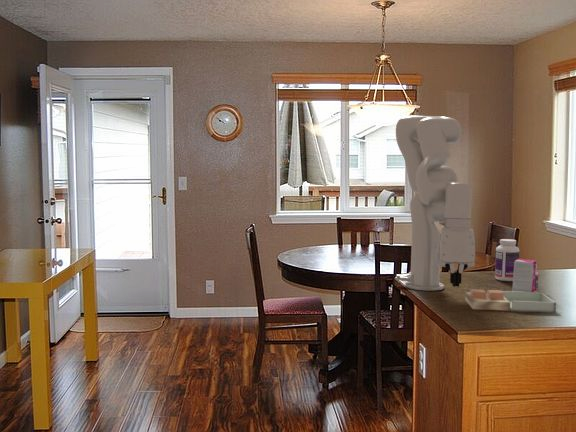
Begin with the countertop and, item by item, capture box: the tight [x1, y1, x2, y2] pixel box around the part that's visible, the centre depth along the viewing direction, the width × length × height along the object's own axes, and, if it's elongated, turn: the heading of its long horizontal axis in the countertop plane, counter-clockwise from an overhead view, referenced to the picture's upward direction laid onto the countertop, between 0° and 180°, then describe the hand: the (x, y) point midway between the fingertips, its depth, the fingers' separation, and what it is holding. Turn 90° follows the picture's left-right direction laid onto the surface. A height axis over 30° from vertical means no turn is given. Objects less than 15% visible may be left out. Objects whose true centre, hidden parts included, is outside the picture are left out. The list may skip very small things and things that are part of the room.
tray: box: [501, 290, 557, 314], centre depth 195 cm, size 12×14×3 cm
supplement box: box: [511, 258, 537, 292], centre depth 209 cm, size 6×6×12 cm
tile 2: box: [486, 289, 504, 299], centre depth 196 cm, size 4×4×2 cm
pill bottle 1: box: [494, 238, 520, 282], centre depth 236 cm, size 8×8×14 cm
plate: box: [465, 291, 511, 312], centre depth 196 cm, size 10×12×2 cm
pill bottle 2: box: [534, 264, 540, 292], centre depth 217 cm, size 5×5×9 cm
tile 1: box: [469, 288, 487, 298], centre depth 196 cm, size 4×4×2 cm
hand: (455, 285), depth 196 cm, fingers closed
